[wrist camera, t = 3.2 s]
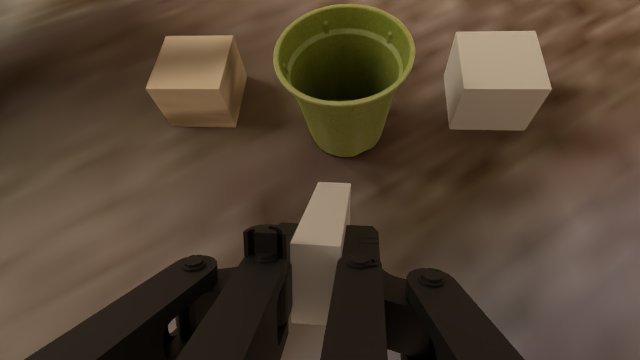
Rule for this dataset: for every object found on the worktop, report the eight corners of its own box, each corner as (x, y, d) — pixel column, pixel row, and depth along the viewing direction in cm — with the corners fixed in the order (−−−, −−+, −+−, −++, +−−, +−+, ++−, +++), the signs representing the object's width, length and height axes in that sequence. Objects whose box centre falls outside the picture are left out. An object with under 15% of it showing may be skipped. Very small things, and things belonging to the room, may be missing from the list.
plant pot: (275, 161, 31) (251, 89, 24) (311, 79, 36) (299, -5, 28) (387, 187, 29) (398, 118, 22) (410, 97, 34) (427, 12, 26)
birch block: (236, 127, 34) (218, 89, 29) (171, 127, 34) (145, 88, 30) (247, 77, 37) (233, 35, 32) (188, 77, 37) (165, 35, 33)
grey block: (524, 131, 31) (551, 89, 27) (448, 130, 32) (463, 88, 27) (512, 76, 34) (535, 30, 30) (443, 76, 35) (456, 31, 30)
